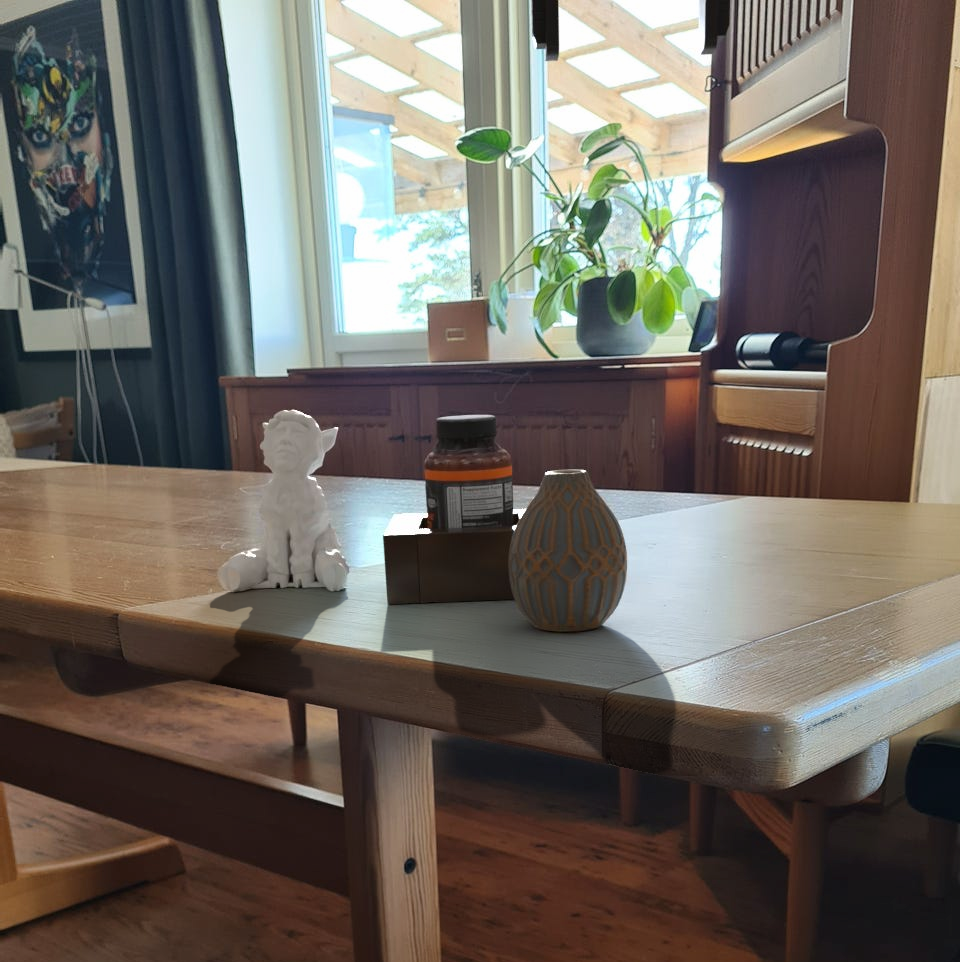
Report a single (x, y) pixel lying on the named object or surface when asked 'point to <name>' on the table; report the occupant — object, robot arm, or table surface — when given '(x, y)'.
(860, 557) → the table surface
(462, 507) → the supplement bottle
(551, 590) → the vase
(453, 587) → the holder
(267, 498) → the seated beast figurine
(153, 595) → the table surface
